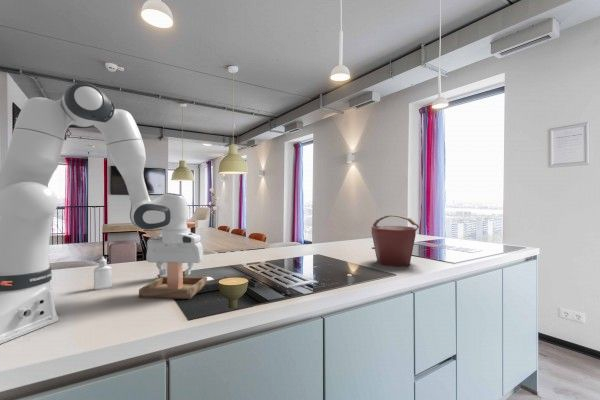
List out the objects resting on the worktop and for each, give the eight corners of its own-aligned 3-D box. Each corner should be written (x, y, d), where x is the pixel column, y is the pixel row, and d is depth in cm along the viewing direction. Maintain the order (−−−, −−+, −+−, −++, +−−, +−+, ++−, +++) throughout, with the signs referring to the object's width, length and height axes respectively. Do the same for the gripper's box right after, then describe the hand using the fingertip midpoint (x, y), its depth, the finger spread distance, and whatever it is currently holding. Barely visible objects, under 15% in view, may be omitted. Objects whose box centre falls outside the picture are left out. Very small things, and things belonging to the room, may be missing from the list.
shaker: (178, 290, 108) (177, 259, 108) (167, 290, 109) (167, 259, 108) (182, 287, 112) (182, 256, 112) (172, 286, 113) (172, 256, 112)
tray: (190, 298, 102) (190, 290, 102) (138, 297, 103) (138, 289, 103) (206, 284, 118) (206, 277, 118) (162, 284, 119) (162, 276, 119)
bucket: (427, 265, 151) (428, 216, 151) (397, 270, 140) (397, 217, 140) (390, 256, 172) (390, 213, 172) (361, 260, 161) (361, 214, 161)
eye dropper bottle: (108, 289, 112) (108, 257, 112) (91, 290, 111) (91, 258, 111) (113, 286, 116) (113, 255, 116) (97, 286, 115) (97, 255, 115)
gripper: (142, 238, 107) (142, 276, 108) (198, 238, 107) (198, 277, 107) (152, 235, 114) (152, 271, 114) (204, 236, 113) (205, 272, 113)
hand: (175, 274), depth 110 cm, fingers open, 8 cm apart
